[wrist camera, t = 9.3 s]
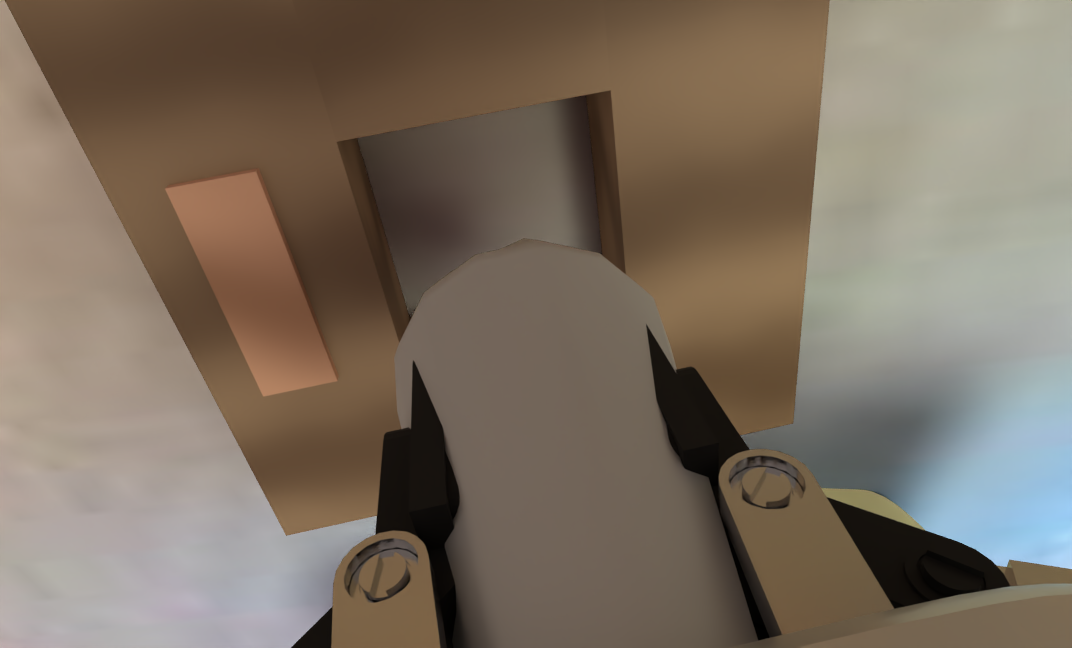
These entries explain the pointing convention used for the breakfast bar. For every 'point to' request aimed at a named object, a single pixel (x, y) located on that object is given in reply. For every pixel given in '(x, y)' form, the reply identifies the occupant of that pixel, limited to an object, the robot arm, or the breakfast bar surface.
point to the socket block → (351, 212)
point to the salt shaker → (566, 461)
